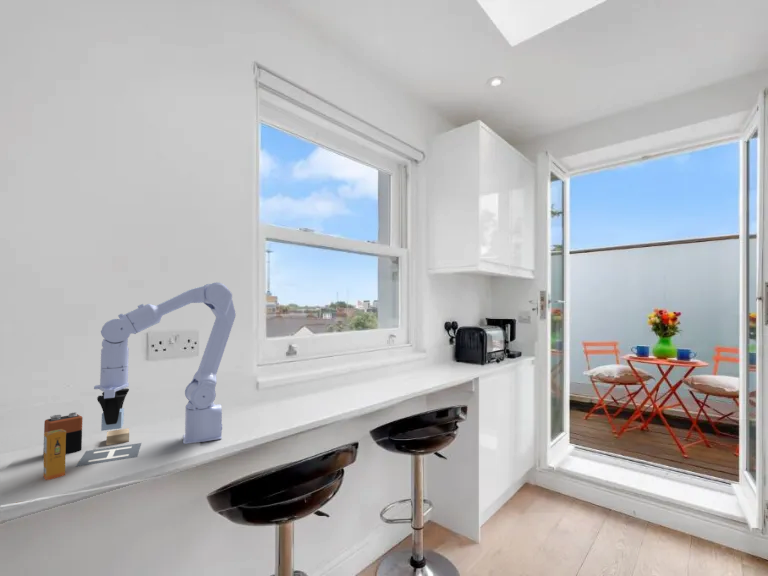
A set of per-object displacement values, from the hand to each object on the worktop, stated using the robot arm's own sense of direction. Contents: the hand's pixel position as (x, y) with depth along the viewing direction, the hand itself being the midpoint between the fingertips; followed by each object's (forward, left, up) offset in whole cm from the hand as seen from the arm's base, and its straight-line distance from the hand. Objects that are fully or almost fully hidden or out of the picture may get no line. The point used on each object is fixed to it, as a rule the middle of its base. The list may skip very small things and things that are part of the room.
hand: (113, 421), depth 95 cm
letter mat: (0, 0, -8) cm, 8 cm away
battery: (+11, -7, -9) cm, 16 cm away
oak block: (0, -11, -9) cm, 14 cm away
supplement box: (+9, +9, -9) cm, 15 cm away
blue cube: (0, 0, -1) cm, 1 cm away
